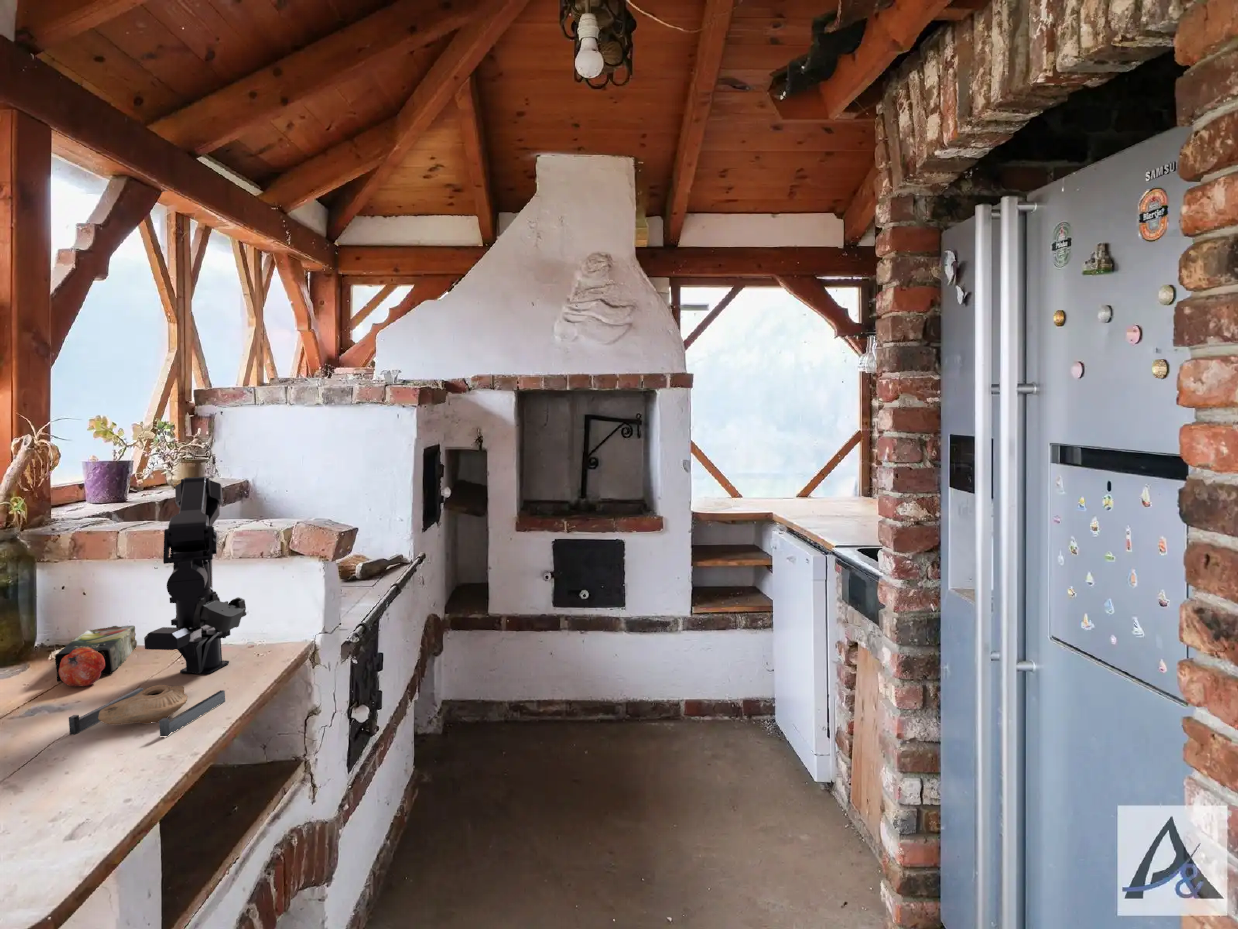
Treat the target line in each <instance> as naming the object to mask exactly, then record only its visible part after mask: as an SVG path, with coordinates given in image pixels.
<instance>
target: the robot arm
mask: <svg viewBox="0 0 1238 929" xmlns="http://www.w3.org/2000/svg"><path fill="white" fill-rule="evenodd" d="M174 488H175V489H174V491H175V492H174V493H175V494H174V495H175V498H174V499H175V501H174V502H175V505H176V506H177V507H176V508H179V510H178V514H176V515H174V516H172V517H170V519H169V522H168V527H167V528H164V531H163V533H164V534H163V561H162V562H163V564H164V565H165V564H166V565H167V564H173V567H172V568H173V570H172V572H171V574H170V576H169V577H168V578H167V582H166V590H167V593H168V595H169V596H170V597H169V603H170V604H175V613H176V614H175V618H172V619H170V626H175V627H168V626H167V627H166V626H163V627H160V628H159V627H158V628H157V629H155V630H152V631H150V632H148V633H147V634H146V635H144V637H143V639H144V640H143V641H144V643H143V644H144V649H145V650H151V651H152V650H156V651H157V650H161V651H173V650H177V651H178V652H179V653H180V654H181V656H182V657H183V658H184V660H185V667H183V668H182V669H180V670H179V673H180V674H211V673H214V672H216V671H218V670H219V669H221V668H223V667H225V666H226V665H228V664H230V660H223V655H222V654H223V653H222V651H223V650H222V639H227V637H228V636H231V630H233V629H234V628H238V627H240V624H241V620H242V618H244V617H246V616H247V614H248V613H247V612H246V611H247V607H246V601H245V600H246V599H244V598H242V597H235V598H233V599H231V600H230V601H227V600H226V601H221V600H220V597H219V595H218V593H217V591H215V590H214V589H213V559H214V555H217V553H218V552H217V551H218V550H217V549H218V532H217V531H216V530H215V527H214V523H215V522H216V521H217V519H218V518H219V516H220V514H221V513H220V509H221V507H220V506H222V505H223V504H224V495H223V487H222V484H221V483H220V482H216V481H213V480H211V479H210V477H206V476H190V477H189V476H187V477H184V478H181V479H180V482H179V483H178V484H176V485H175V487H174ZM213 671H214V672H213Z"/></svg>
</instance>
